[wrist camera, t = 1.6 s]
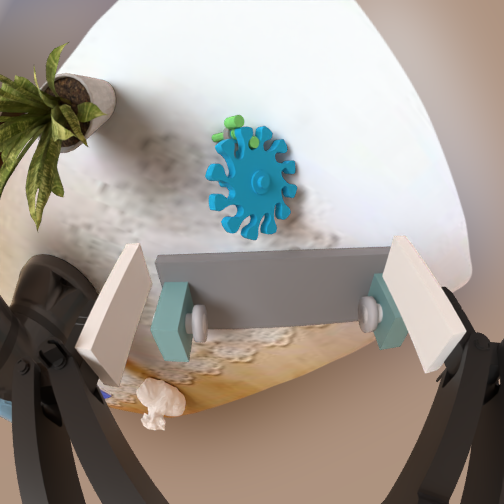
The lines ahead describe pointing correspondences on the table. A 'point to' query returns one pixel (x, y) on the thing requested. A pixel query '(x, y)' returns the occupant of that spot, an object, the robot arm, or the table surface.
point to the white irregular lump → (159, 402)
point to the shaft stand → (272, 294)
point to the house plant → (49, 125)
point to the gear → (250, 178)
